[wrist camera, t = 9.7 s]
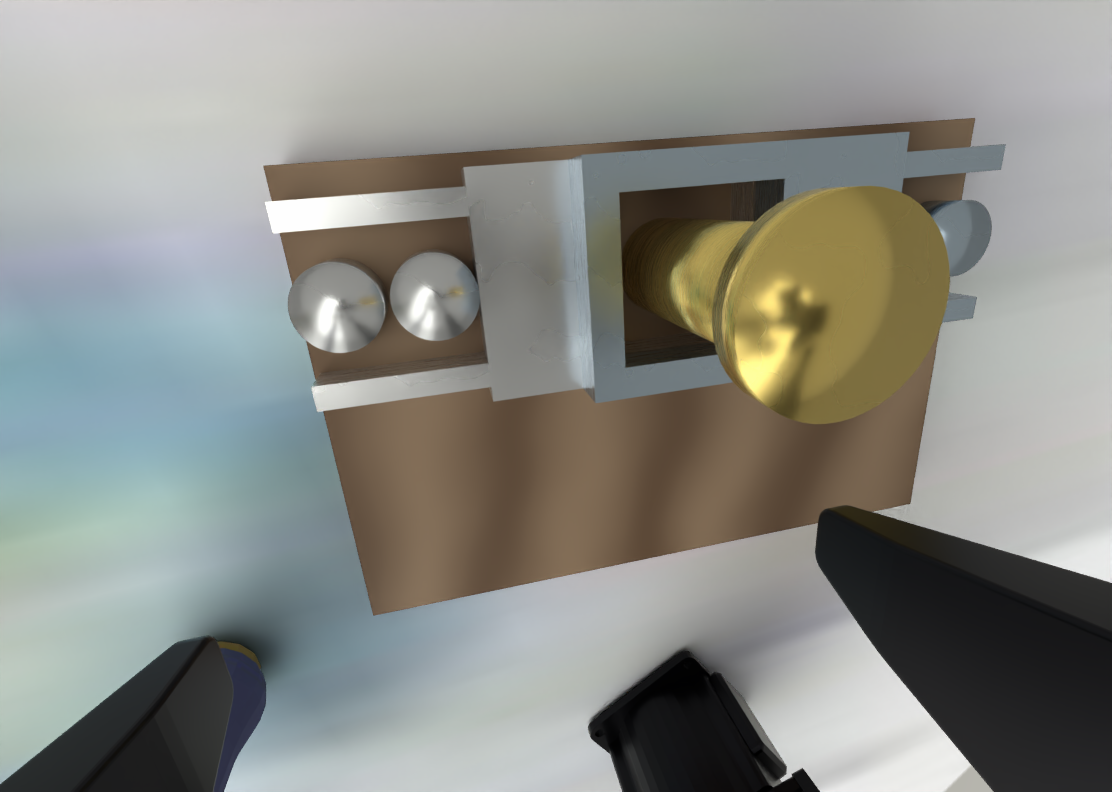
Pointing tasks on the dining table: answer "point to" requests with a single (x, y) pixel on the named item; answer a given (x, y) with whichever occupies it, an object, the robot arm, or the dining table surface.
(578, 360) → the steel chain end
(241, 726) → the rubber mallet
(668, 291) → the pin
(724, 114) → the dining table surface
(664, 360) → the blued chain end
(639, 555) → the board
